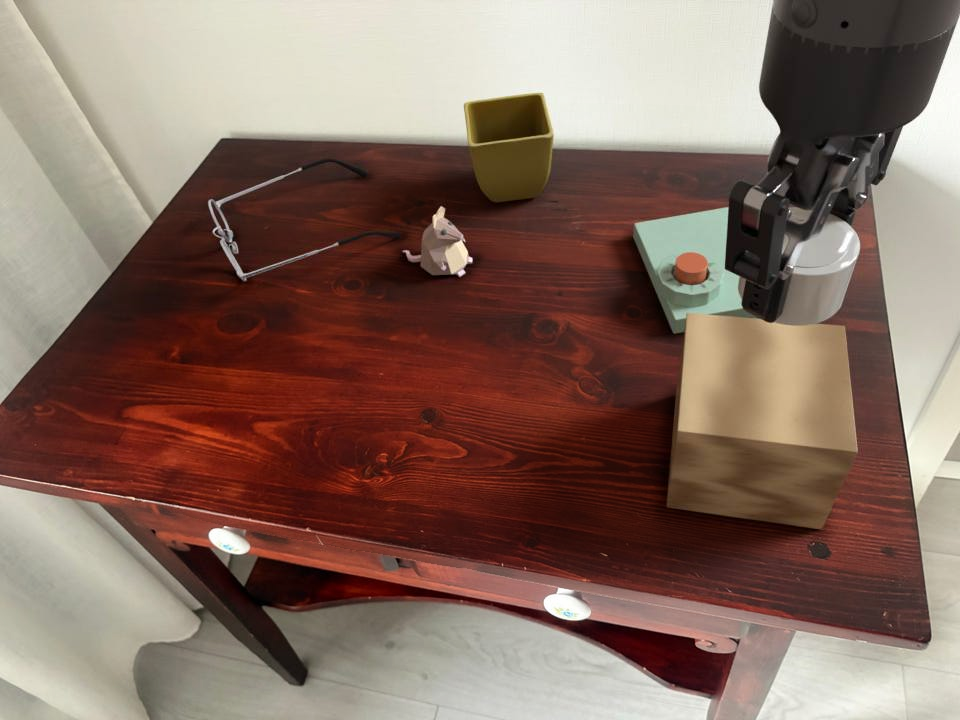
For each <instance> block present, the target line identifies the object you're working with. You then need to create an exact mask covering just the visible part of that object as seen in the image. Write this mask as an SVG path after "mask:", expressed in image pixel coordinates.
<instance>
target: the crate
mask: <svg viewBox="0 0 960 720" xmlns="http://www.w3.org/2000/svg"><path fill="white" fill-rule="evenodd" d="M678 370H679V371H678V377H677V385H676V392H675V401H674V413H673V424H672V438H671V449H670V461H669V472H668V485H667V496H666V508H668V509H676V510H683V511H690V512H696V513H704V514H710V515H717V516H725V517H730V518H738V519H745V520H753V521H759V522H766V523H767V522H768V523H774V524H781V525H787V526H794V527H800V528H801V527H802V528H808V529H816V530H822V529H823V528H824V526H825V523H826V521H827V519H828V517H829V515H830V513H831V510H832V508H833V506H834V505H835V502H836V500H837V498H838V495H839V494H840V492H841V489H842V487H843V485H844V483H845V481H846V478H847V476H848V475H849V472H850V470H851V468H852V465H853V463H854V462H855V460H856V457H857V455H858V453H859V449H858V440H857V430H856V420H855V411H854V402H853V401H854V400H853V391H852V381H851V371H850V361H849V352H848V342H847V332H846V326H845V325H837V324H826V323H816V324H812V325H805V326H791V325H783V324H778V323H774V322H773V323H768V322H766V321H764V320H762V319H755V318H743V317H731V316H719V315H707V314H695V313H687V316H686V323H685V331H684V332H683V340H682V346H681V354H680V361H679V369H678Z"/></svg>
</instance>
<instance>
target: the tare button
mask: <svg viewBox="0 0 960 720" xmlns="http://www.w3.org/2000/svg"><path fill="white" fill-rule="evenodd" d="M707 266H708V262H707V259H706V258H705V257H704V256H703V255H701V254H698V253H694V252H688V253H684V254H681V255H680V256H679V257H678V258H677V259H676V263H675V272H674V276H675V278H676V280H677V281H678V282H680V283H682V284H686V285H697V284H700V283H702V282H703V281H704V280H705V278H706V273H707Z"/></svg>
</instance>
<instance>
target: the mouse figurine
mask: <svg viewBox="0 0 960 720" xmlns="http://www.w3.org/2000/svg"><path fill="white" fill-rule="evenodd" d="M445 213H446V208H445V207H443V206H442V205H441V206H440V207H439V208H438V209H437V211H436V213H435V214H433V216H432V223H430V224H429V225H428V226H427V227H426V228H425V229H424V231H423V234H422V238H421V250H420V253H421V254H418V255H412V254H411V253H410V250H407V249H405V250H402V253H404V254H405V255H406V257H407V258H406V259H407V260H408V261H409V262H411V263H419V262H420V267H421V268H422V269H424V270H425V271H426V272H428V273H429V274H430V275H432V276H443V275H444V276H445V275H446V276H447V275H456V276H458V277H459V278H461V277H462V276H463V275H466V271H465V270H464V269H465V267H466V266H467V265H473V257H471V256H470V255H469V251H468V249H467V248H466V246H465V244H464V243H466V242H467V241H466V240H465V238H464V234H463V233H462V232H461V231H460V230H458V228H457V227H456V225H454V224H453V223H452V222H451V221H450V220H448V218H445ZM463 242H464V243H463Z"/></svg>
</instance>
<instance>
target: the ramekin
mask: <svg viewBox="0 0 960 720" xmlns="http://www.w3.org/2000/svg"><path fill="white" fill-rule="evenodd" d="M788 210H790V211H791V212H792V215H793V216H795V217H798V218H800V219H803V220H805V221H807V219H808V218H809V216H810V213H811V211H812V210H811V211H806V210H803V209H800V208H798V207H795V206H792V207H789V208H788ZM788 240H789V238H788V236H787V235H786V234H785V235H784V242H783V248H782V254H783V252H784V250H785V248H786V246H787V243H788ZM860 252H861V242H860V239H859V236H858V234H857V232H856V231H855V229H854V228H853V227H852V225H851V226H850V225H849V224H848V223H846V222H845V221H843V220H842V219H840V218H839V217H837V216H835V215H832V214H829V216H828V218H827V220H826V222H825V224H824V226H823V229H822V231H821V233H820V235H819V236H818V237H816V238H814V239H811V240H807V241H806V242H805V245H804V247H803V249H802V251H801V253H800V255H799V258H798V260H797V262H796V264H795V266H794V271H793V273H792V277H791V280H790V284H789V288H788V292H787V296H786V300H785V304H784V308H783V312H782V314H781V316H780V317H779V318H778V319H777V320H776V321H775V322H774V323H778V324H783V325H791V326H805V325H812V324H820V323H822V322H824V321H826V320H829V319H830V318H831V317H833V316H834V315H835V314H836V313H837V312H838V311H839V310H840V309H841V307H842V305H843V303H844V300H845V298H846V294H847V291H848V288H849V284H850V282H851V279H852V276H853V272H854V270H855V266H856V264H857V261H858V258H859V255H860ZM745 282H746V279H744V278H742V277H739V282H738V291H739V295H740V297H741V299H742V297H743V292H744V287H745Z"/></svg>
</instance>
